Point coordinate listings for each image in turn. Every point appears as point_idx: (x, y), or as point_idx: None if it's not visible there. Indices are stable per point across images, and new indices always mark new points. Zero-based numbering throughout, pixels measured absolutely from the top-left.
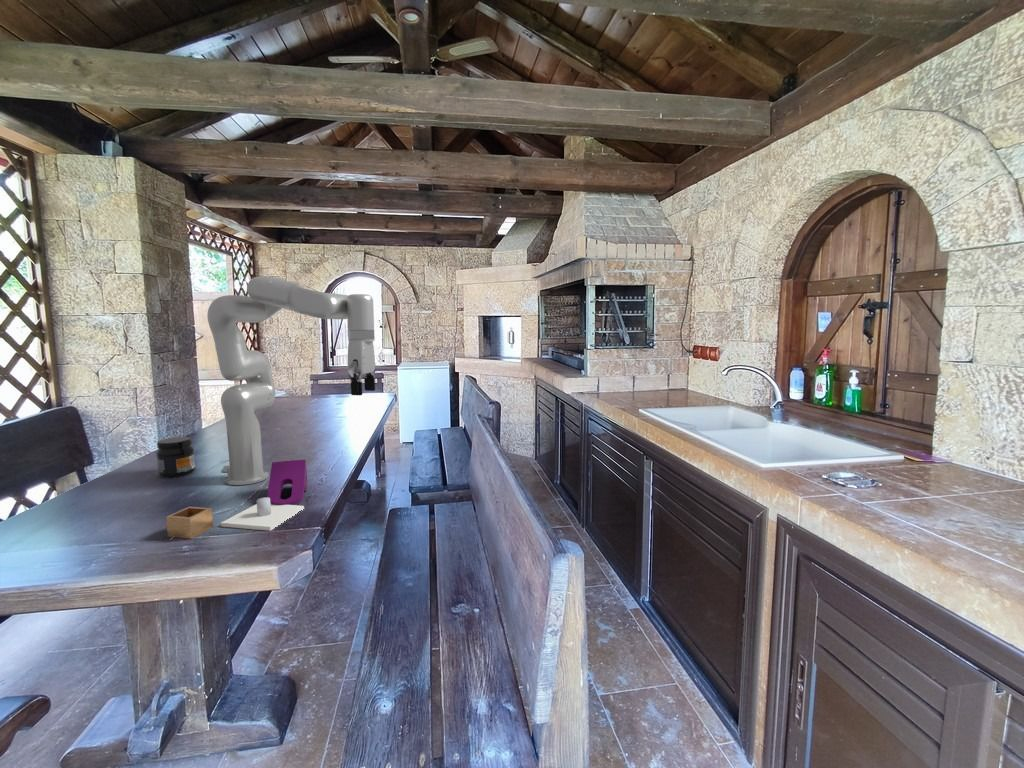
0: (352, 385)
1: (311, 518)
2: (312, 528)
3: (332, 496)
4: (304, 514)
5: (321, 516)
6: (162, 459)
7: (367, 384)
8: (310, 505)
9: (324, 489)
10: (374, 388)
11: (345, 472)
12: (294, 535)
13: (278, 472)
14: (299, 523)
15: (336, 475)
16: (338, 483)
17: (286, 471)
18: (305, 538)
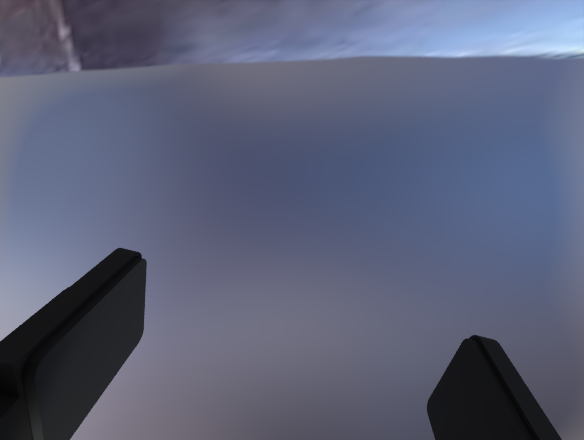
0: (5, 338)
1: (121, 37)
2: (70, 59)
3: (272, 52)
4: (144, 7)
5: (135, 61)
6: None
7: (479, 421)
8: (205, 3)
9: (338, 5)
10: (436, 428)
11: (513, 34)
12: (30, 27)
13: None
14: (91, 14)
15: (486, 7)
16: (389, 39)
17: None
18: (22, 59)
